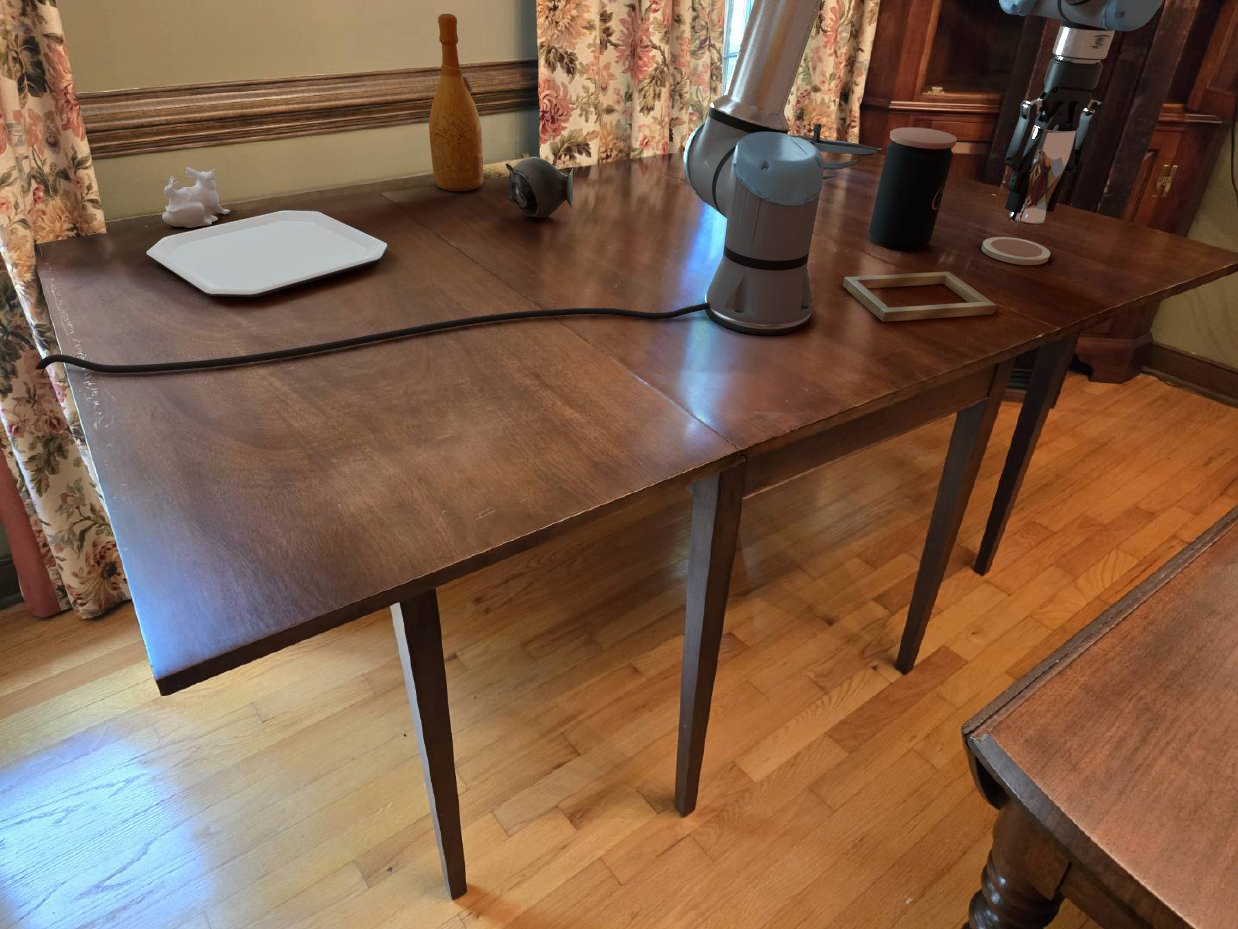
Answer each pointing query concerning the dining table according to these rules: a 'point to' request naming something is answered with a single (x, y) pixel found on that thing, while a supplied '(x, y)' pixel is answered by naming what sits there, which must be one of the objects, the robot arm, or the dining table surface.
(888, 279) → the picture frame
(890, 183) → the coffee jar
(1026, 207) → the beer glass
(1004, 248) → the trivet
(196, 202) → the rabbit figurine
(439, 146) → the wine bottle
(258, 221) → the plate
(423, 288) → the dining table surface
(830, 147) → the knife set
